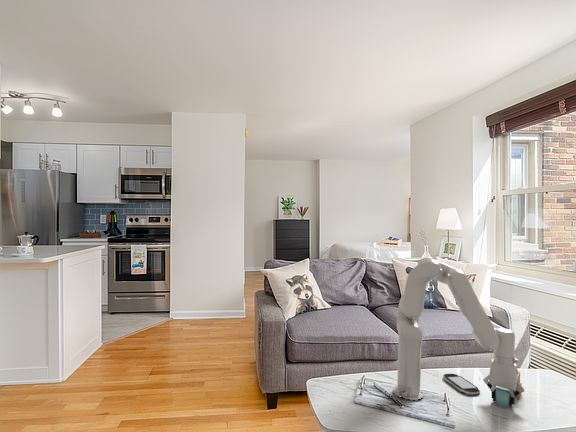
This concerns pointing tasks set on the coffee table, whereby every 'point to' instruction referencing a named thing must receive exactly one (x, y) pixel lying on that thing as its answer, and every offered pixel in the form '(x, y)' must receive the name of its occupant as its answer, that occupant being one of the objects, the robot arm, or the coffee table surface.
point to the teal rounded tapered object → (502, 397)
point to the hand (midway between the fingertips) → (502, 402)
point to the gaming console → (461, 384)
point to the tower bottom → (518, 394)
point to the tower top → (518, 377)
